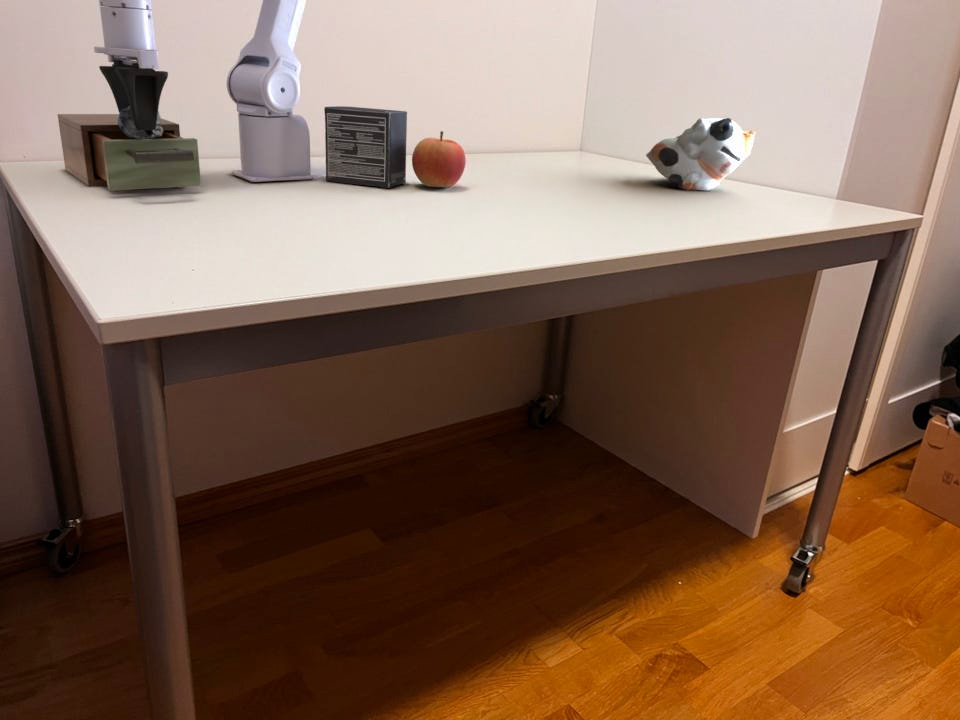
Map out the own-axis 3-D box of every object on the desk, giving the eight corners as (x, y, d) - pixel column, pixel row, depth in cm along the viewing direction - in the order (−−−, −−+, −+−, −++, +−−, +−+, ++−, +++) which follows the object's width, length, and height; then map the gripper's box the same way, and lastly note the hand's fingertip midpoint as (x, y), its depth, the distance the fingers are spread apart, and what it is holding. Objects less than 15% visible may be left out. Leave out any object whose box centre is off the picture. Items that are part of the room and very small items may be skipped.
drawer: (214, 192, 94) (211, 144, 92) (121, 198, 88) (115, 146, 86) (170, 170, 107) (166, 127, 105) (85, 174, 100) (79, 128, 98)
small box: (408, 183, 114) (409, 110, 110) (389, 189, 108) (390, 112, 104) (345, 175, 117) (344, 104, 113) (323, 181, 111) (322, 106, 107)
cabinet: (184, 181, 105) (179, 124, 102) (88, 186, 98) (80, 125, 95) (154, 166, 114) (149, 114, 111) (65, 170, 107) (57, 114, 104)
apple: (440, 181, 118) (442, 127, 115) (475, 189, 112) (478, 133, 109) (399, 184, 112) (400, 128, 109) (434, 193, 107) (436, 135, 104)
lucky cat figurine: (693, 177, 137) (744, 110, 130) (725, 216, 130) (781, 147, 122) (632, 152, 130) (682, 80, 122) (662, 192, 122) (717, 117, 114)
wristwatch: (153, 148, 98) (128, 116, 98) (170, 123, 95) (145, 90, 95) (134, 153, 96) (109, 120, 95) (152, 128, 93) (125, 94, 92)
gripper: (75, 6, 94) (90, 120, 99) (106, 5, 83) (120, 134, 88) (135, 10, 98) (147, 120, 103) (172, 10, 87) (182, 133, 92)
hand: (139, 127), depth 96 cm, fingers closed on wristwatch, 5 cm apart
